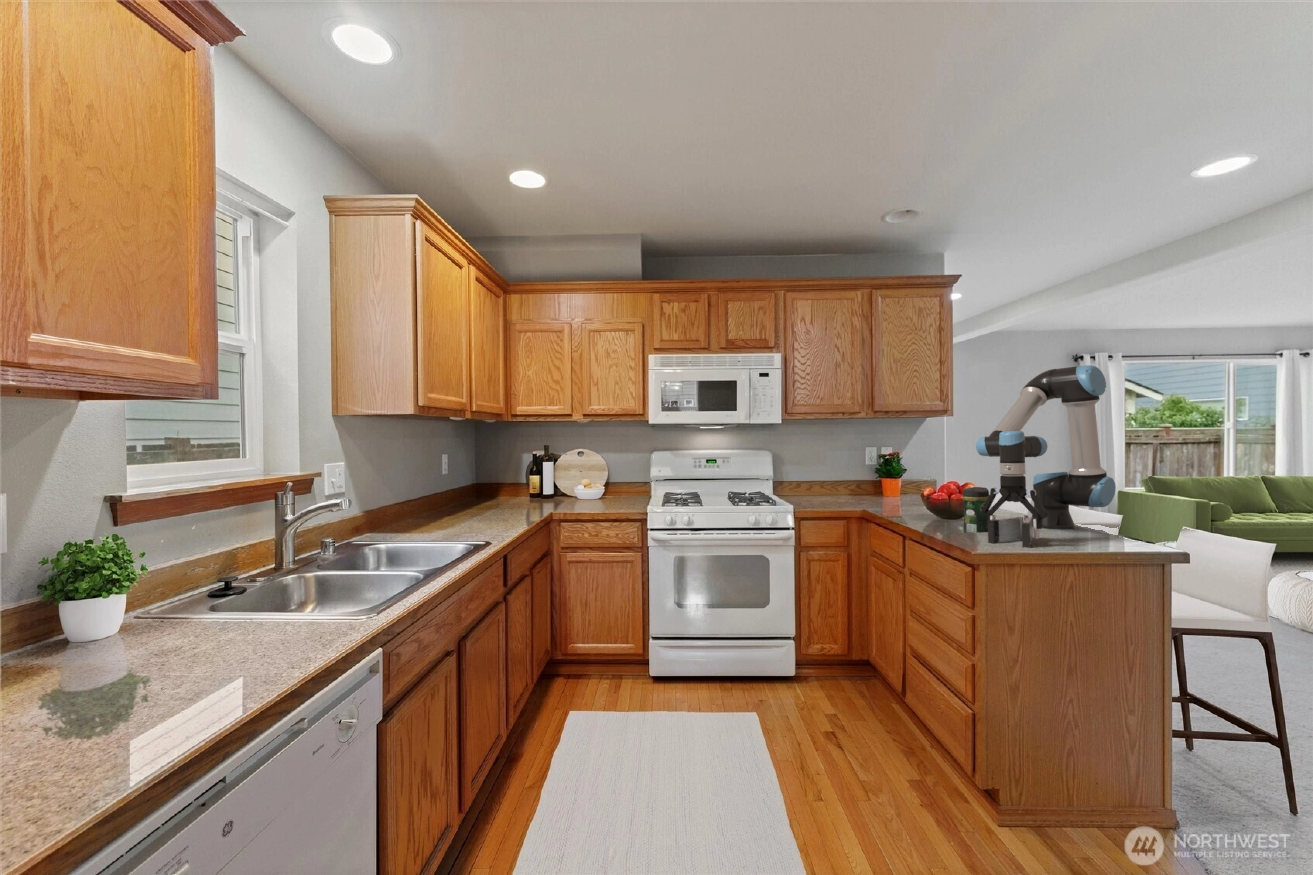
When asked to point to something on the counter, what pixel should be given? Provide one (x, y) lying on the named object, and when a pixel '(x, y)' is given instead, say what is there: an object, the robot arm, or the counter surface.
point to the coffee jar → (975, 509)
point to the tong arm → (1005, 529)
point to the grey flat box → (1027, 531)
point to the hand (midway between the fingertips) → (1014, 535)
